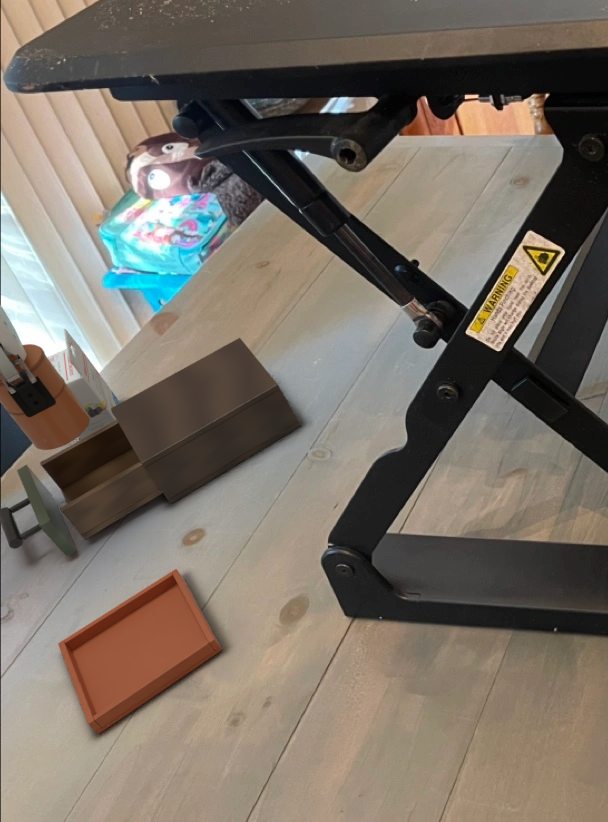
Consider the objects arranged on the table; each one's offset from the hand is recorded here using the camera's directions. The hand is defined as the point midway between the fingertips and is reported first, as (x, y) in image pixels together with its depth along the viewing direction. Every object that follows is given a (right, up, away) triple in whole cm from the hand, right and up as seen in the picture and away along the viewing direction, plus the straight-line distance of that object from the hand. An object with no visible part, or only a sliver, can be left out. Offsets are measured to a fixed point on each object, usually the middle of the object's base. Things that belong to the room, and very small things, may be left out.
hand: (34, 393), depth 123 cm
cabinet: (+13, -8, +17) cm, 23 cm away
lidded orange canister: (+1, -5, +4) cm, 6 cm away
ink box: (-4, -7, +22) cm, 24 cm away
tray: (+17, -27, -8) cm, 33 cm away
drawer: (+2, -14, +10) cm, 18 cm away
